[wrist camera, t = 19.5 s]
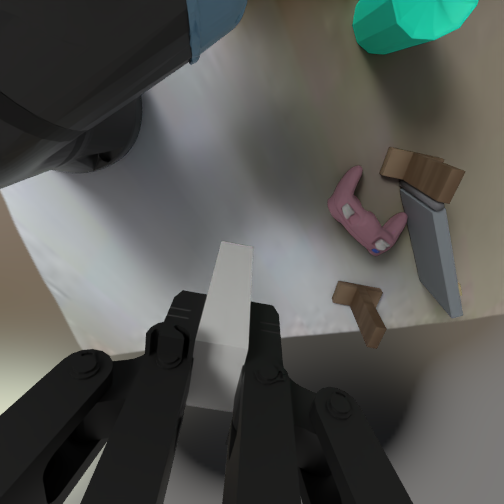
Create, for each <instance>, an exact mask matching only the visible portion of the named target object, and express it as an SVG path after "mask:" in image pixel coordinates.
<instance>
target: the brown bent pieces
mask: <svg viewBox="0 0 504 504" xmlns="http://www.w3.org/2000/svg"><path fill="white" fill-rule="evenodd" d="M443 162H444V159H442V158H439V157H434V156H429V155H425V154H420V153H416V152H411V151H406V150H402V149H397V148H393V147H389V149H388V152H387V155H386V157H385V160H384V163H383V165H382V168H381V170H380V174H381V175H384V176H388V177H393V178H398V179H403V180H404V181H406V182H407V183H409V184H410V185H412V186H414V187H415V188H417V189H418V190H420V191H422V192H423V193H425V194H426V195H428V196H430V197H431V198H433V199H434V200H436V201H438V202H443V203H448V204H450V202H451V200H452V198H453V196H454V194H455V192H456V190H457V188H458V186H459V184H460V182H461V180H462V178H463V176H464V174H465V171H463V170H460V169H458V168H455V167H453V166H450V165H448V164H445V163H443ZM382 293H383V292H382V291H381V289H380V288H374V287H369V286H364V285H358V284H353V283H348V282H342V281H338V284H337V286H336V289H335V291H334V294H333V297H332V300H333V303H338V304H343V305H349V306H350V307H351V310H352V312H353V314H354V317H355V319H356V322H357V324H358V327H359V329H360V331H361V334H362V336H363V339H364V341H365V343H366V346H367V347H370V348H376V349H377V347H378V345H379V343H380V341H381V339H382V337H383V335H384V333H385V331H386V327H385V325H384V323H383V321H382V319H381V317H380V316H379V314H378V312H377V310H376V306H377V304H378V302H379V300H380V298H381V295H382Z"/></svg>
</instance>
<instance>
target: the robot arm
mask: <svg viewBox="0 0 504 504" xmlns="http://www.w3.org/2000/svg"><path fill="white" fill-rule="evenodd" d="M246 4H247V0H0V189H1V188H4V187H7V186H9V185H12V184H14V183H17V182H20V181H22V180H25V179H28V178H30V177H33V176H35V175H38V174H41V173H43V172H46V171H49V170H55V171H62V172H68V173H88V172H93V171H97V170H100V169H103V168H105V167H107V166H109V165H111V164H113V163H115V162H117V161H118V160H120V159H121V158H122V157H123V156H124V155H126V153H127V152H128V151H129V150H130V149H131V147H132V146H133V144H134V142H135V140H136V138H137V136H138V133H139V130H140V126H141V120H142V100H141V94H143V93H144V92H146V91H147V90H149V89H150V88H152V87H153V86H154V85H156V84H157V83H159V82H160V81H162V80H163V79H165V78H166V77H168V76H169V75H171V74H172V73H173V72H175V71H176V70H178V69H179V68H181V67H182V66H184V65H185V64H187V63H188V62H189V63H190V65H192V64H194V63H196V62H197V61H198V59H199V57H200V54H201V53H203V52H204V51H205V50H206V49H208V48H209V47H210V46H212V45H213V44H214V43H216V42H217V41H218V40H220V39H221V38H222V37H224V36H225V35H226V34H228V33H229V32H230V31H231V30H233V29H234V28H235V27H236V26H237V24H238V23H239V22H240V20H241V18H242V16H243V13H244V10H245V7H246ZM252 264H253V247H251V246H246V245H241V244H236V243H230V242H225V241H221V245H220V248H219V252H218V256H217V260H216V264H215V267H214V271H213V275H212V279H211V283H210V286H209V290H208V294H207V295H206V294H200V293H195V292H189V291H184V290H183V291H182V292H180V293H179V294H178V295H177V296H175V297H174V299H173V302H172V304H171V307H170V309H169V311H168V314H167V316H166V318H165V321H164V322H161V323H158V324H156V325H154V326H152V327H151V328H150V329H149V330H148V332H147V333H146V345H145V354H144V355H142V356H140V357H137V358H135V359H129V360H121V361H112V360H111V358H110V356H109V355H108V354H106V353H105V352H103V351H99V350H94V349H90V350H81V351H78V352H76V353H73V354H71V355H69V356H68V357H66V358H65V359H63V360H62V361H61V362H60V363H59V364H58V365H56V366H55V367H54V368H53V369H52V370H51V371H50V372H49V373H48V374H46V375H45V376H44V377H43V378H42V379H41V380H40V381H38V382H37V383H36V384H35V385H34V386H33V387H32V388H31V389H29V390H28V391H27V392H26V393H25V394H24V395H23V396H22V397H21V398H20V399H18V400H17V401H16V402H15V403H14V404H13V405H12V406H10V407H9V408H8V409H7V410H6V411H5V412H4V413H3V414H1V415H0V504H63V502H64V501H65V499H66V498H67V497H68V495H69V494H70V493H71V491H72V489H73V488H74V487H75V486H76V484H77V483H78V481H79V480H80V479H81V477H82V476H83V474H84V473H85V472H86V470H87V469H88V467H89V466H90V465H91V463H92V462H93V460H94V459H95V457H96V456H97V455H98V453H99V452H100V451H101V449H102V448H103V446H104V445H105V443H106V442H107V444H106V446H105V448H104V451H103V453H102V455H101V457H100V460H99V462H98V464H97V467H96V469H95V471H94V474H93V476H92V478H91V480H90V483H89V485H88V487H87V490H86V492H85V494H84V496H83V499H82V501H81V503H80V504H163V502H164V498H165V494H166V490H167V485H168V481H169V477H170V473H171V468H172V464H173V460H174V455H175V451H176V447H177V443H178V438H179V434H180V430H181V425H182V421H183V415H184V409H185V405H189V406H196V407H203V408H209V409H215V410H222V411H229V412H232V410H233V417H232V422H231V425H230V429H229V433H228V437H227V441H226V445H228V450H227V461H226V471H225V481H224V482H225V483H224V492H223V502H222V504H301V499H302V503H303V504H413V502H412V501H411V499H410V497H409V495H408V493H407V492H406V490H405V488H404V486H403V484H402V483H401V481H400V479H399V477H398V475H397V473H396V472H395V470H394V468H393V466H392V464H391V463H390V461H389V459H388V457H387V455H386V454H385V452H384V450H383V448H382V446H381V445H380V443H379V441H378V439H377V437H376V435H375V434H374V432H373V430H372V428H371V426H370V425H369V423H368V421H367V419H366V418H365V415H364V414H363V412H362V410H361V408H360V406H359V405H358V404H357V402H356V401H355V400H354V398H353V397H351V396H350V395H349V394H348V393H346V392H345V391H342V390H340V389H338V388H332V387H327V388H322V389H321V390H319V391H318V392H317V393H314V392H312V391H310V390H307V389H305V388H303V387H301V386H299V385H298V384H296V383H295V382H293V381H292V380H291V379H290V378H289V376H288V373H287V371H286V370H285V369H284V367H283V361H282V348H281V335H280V326H279V325H280V323H279V314H278V313H277V311H276V310H275V308H274V306H272V305H267V304H261V303H256V302H251V284H252ZM300 496H301V497H300Z"/></svg>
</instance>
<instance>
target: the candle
mask: <svg viewBox="0 0 504 504" xmlns="http://www.w3.org/2000/svg"><path fill="white" fill-rule="evenodd" d="M478 1H479V0H359V2H358V3H357V5H356V8H355V14H354V19H353V25H352V26H353V30H354V33H355V37H356V40H357V43H358V44H359V45H360V46H361V47H362V48H364V49H365V50H366V51H367V52H368V53H372V54H383V55H385V54H388V53H392V52H395V51H398V50H402V49H405V48H409V47H412V46H416V45H419V44H423V43H426V42H429V41H433V40H436V39H438V38H440V37H442V36H444V35H446V34H448V33H450V32H452V31H454V30H456V29H458V28H460V27H461V25H462V24H463V23H464V21H465V20H466V19H467V17H468V16H469V15H470V14H471V12H472V11H473V10H474V8H475V7H476V6H477V4H478Z"/></svg>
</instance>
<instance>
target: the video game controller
mask: <svg viewBox="0 0 504 504" xmlns="http://www.w3.org/2000/svg"><path fill="white" fill-rule="evenodd" d="M362 171H363V169H362V167H361V166H359V165H357V166H354V167H352V168H351V169H350V170H348V171H347V173H346V174H345V175H344V176H343V177H342V179H341V180H340V182H339V183H338V185H337V187H336V189H335V191H334V193H333V195H332V196H331V197H330V198H329V199H328V208H329V210H330V213H331V215H332V216H333V217H334V218H335V219H336V220H337V221H338V222H340V223H342V225H343V226H344V227H345V228H346V229H347V231H348V232H349V233H350V234H351V235H352V236H353V237H354V238H355V239H356V240H357V241H358V242H359V243H361V244H362V245H363V246H364V247H366V249H367V250H368V251H369V252H370V253H371V254H372V255H374V256H378V255H380V254H382V253H384V252H386V251H388V250H389V249H390V248H392V247H393V246H394V244H395V243H396V241H397V239H398V237H399V236H400V234H401V232H402V231H403V229H404V227H405V225H406V223H407V219H408V216H407V214H406V213H404V212H401V213H398V214H396V215H394V216H393V217H391V218H390V219H389V220H388V221H387V222H386V223H385V224H384V226H383V227H382V226H381V225H380V223H379V221H378V220H377V218H376V216H375V215H374V214H373V213H372V212H370V211H366V210H365V209H364V208H363V207H362V205H361V202H360V201H359V199H358V198H357V197H356V196H355V195H354V191H355V188H356V186H357V184H358V182H359V180H360V178H361V176H362Z"/></svg>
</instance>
